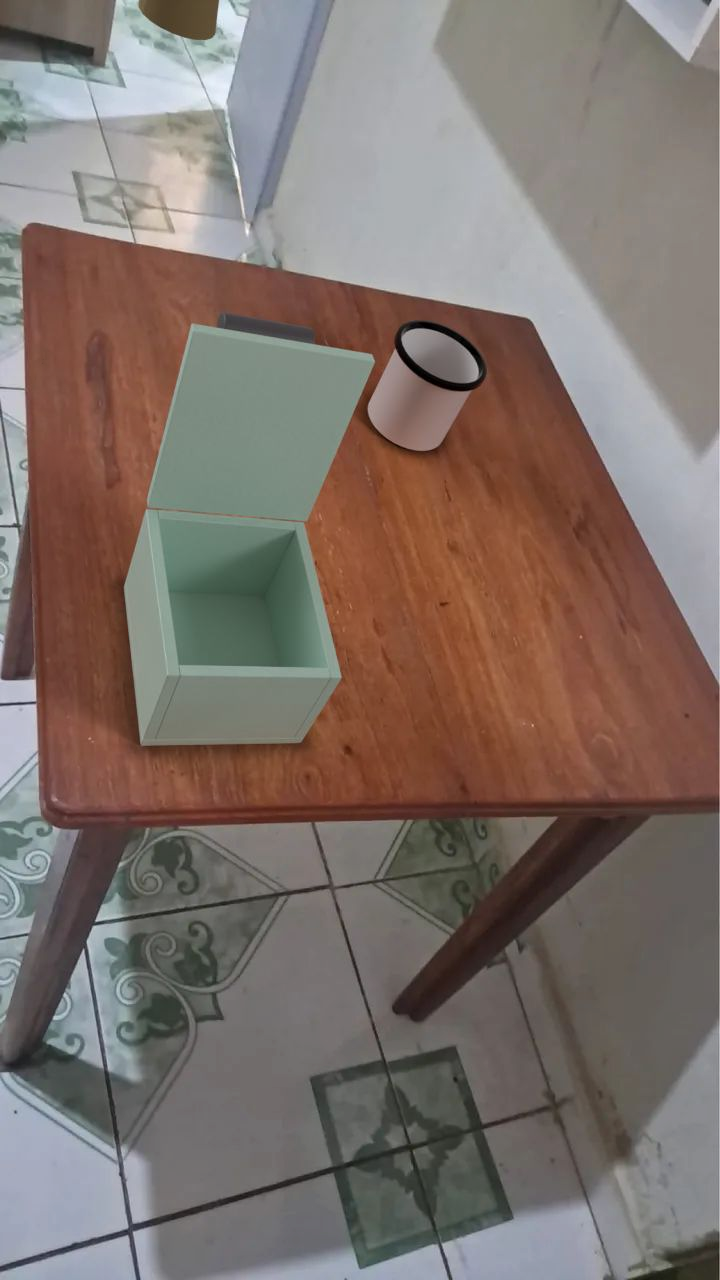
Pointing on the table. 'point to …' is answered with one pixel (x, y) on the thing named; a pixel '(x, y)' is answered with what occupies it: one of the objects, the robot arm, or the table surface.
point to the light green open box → (226, 631)
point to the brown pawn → (183, 16)
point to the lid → (255, 419)
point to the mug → (425, 384)
